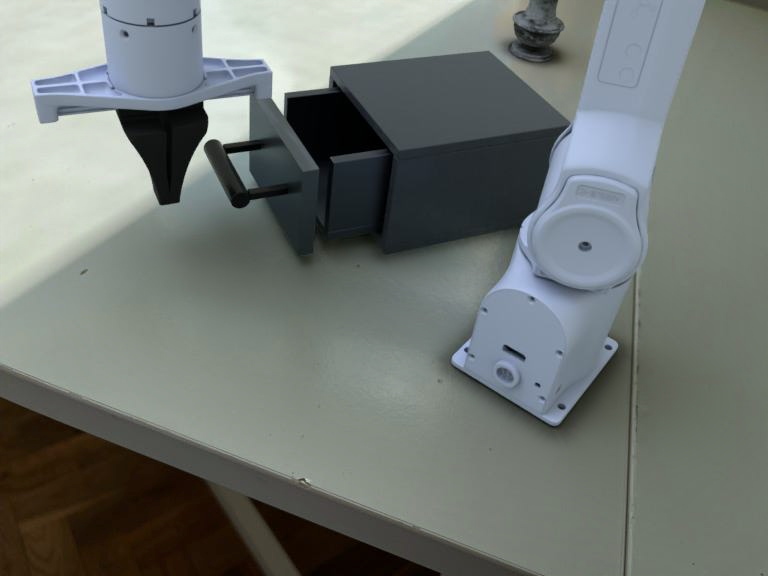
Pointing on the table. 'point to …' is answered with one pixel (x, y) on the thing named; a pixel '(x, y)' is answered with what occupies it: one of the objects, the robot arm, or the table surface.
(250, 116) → the drawer
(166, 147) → the robot arm
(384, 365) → the table surface
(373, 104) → the cabinet
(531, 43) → the ornate metal candlestick
